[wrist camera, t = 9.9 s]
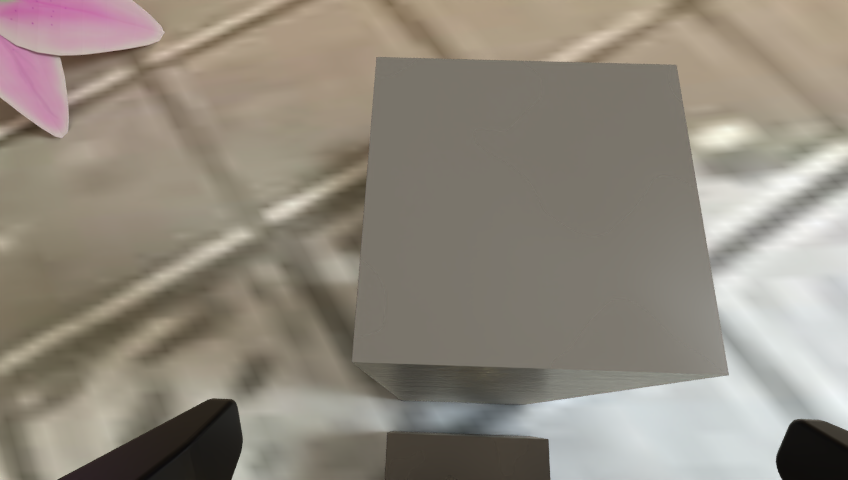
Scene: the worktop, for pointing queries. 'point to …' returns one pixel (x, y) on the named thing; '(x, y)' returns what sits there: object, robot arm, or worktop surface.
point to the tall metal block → (531, 233)
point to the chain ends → (465, 457)
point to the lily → (61, 49)
